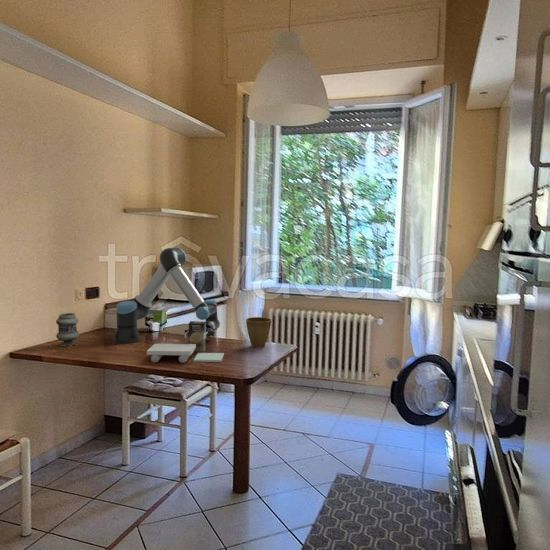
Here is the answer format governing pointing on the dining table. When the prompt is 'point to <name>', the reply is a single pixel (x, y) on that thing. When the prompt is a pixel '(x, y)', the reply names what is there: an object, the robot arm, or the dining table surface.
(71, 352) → the dining table surface
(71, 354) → the dining table surface
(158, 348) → the slab on rollers
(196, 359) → the pad
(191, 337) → the coffee box
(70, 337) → the apothecary jar
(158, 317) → the tea box
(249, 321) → the plant pot
